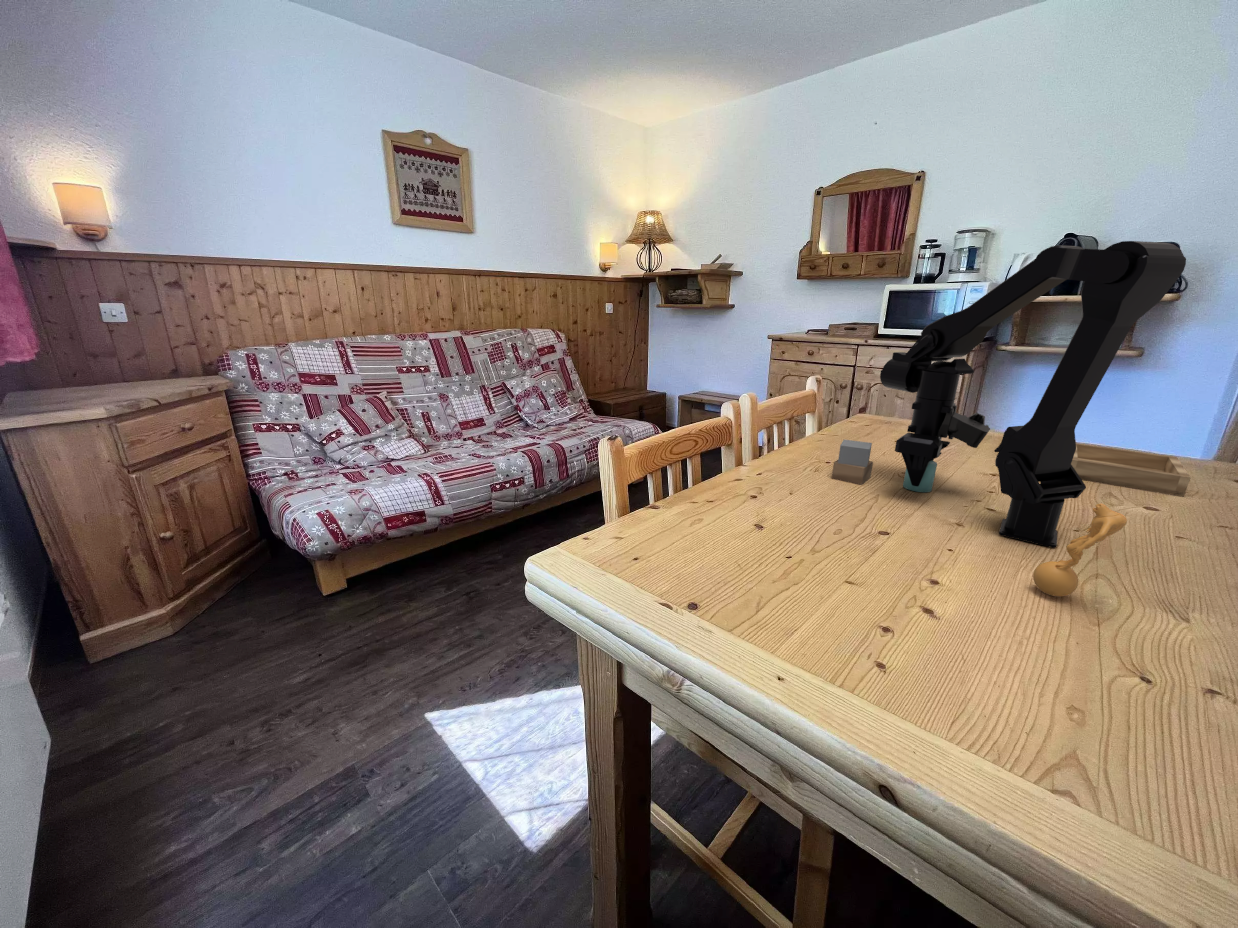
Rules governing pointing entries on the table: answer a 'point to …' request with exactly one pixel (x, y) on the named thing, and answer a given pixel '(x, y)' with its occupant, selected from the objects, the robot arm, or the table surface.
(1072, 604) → the table surface
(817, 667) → the table surface
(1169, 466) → the tray
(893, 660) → the table surface
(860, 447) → the block upper
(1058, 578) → the figurine
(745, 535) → the table surface
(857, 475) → the block lower
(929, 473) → the teal cylinder
